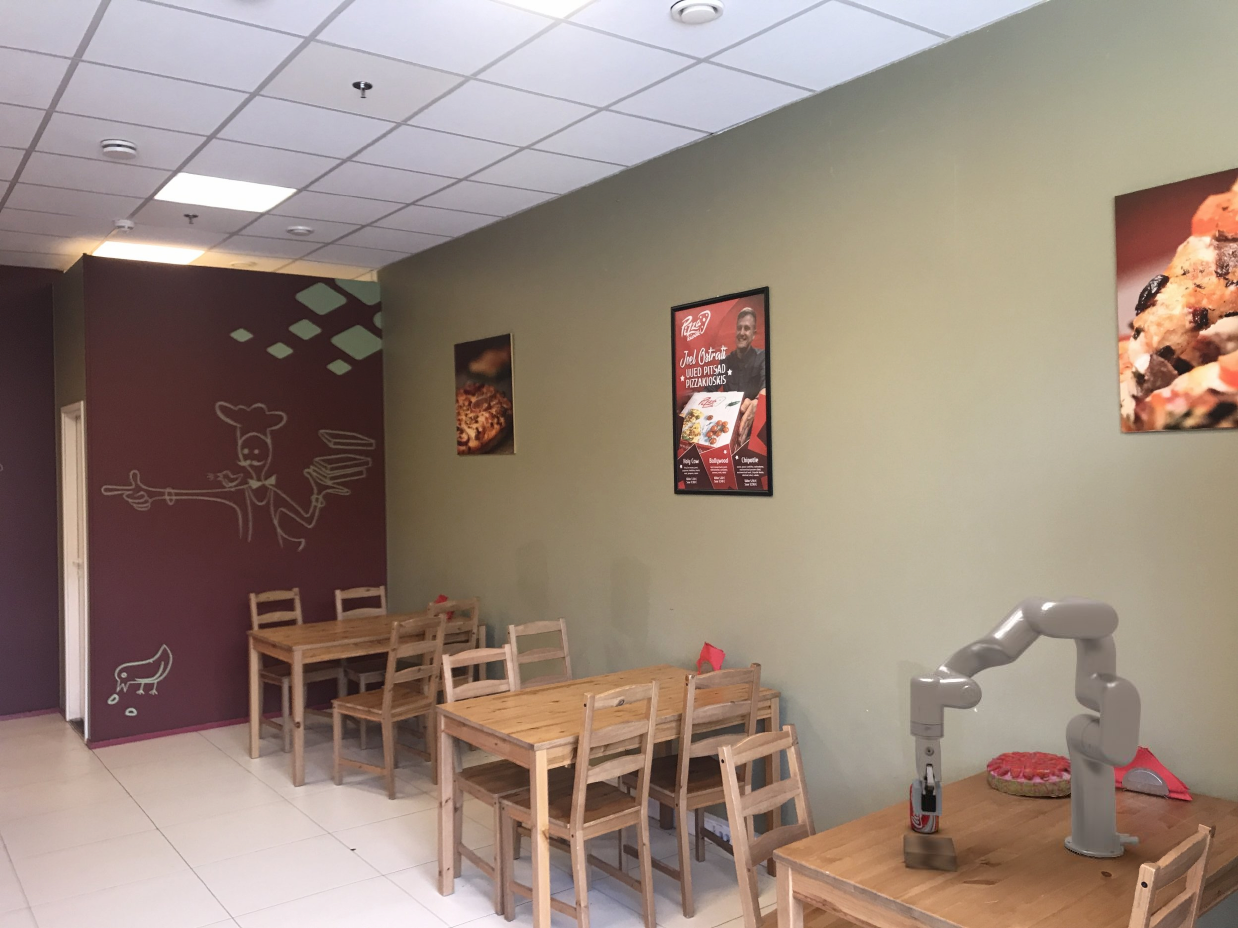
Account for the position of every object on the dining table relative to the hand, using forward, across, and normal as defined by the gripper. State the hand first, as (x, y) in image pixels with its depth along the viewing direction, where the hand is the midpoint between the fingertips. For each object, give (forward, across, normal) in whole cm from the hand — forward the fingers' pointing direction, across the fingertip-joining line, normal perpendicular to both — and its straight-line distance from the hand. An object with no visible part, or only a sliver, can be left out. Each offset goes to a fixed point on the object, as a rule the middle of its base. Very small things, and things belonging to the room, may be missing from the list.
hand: (927, 805), depth 223 cm
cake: (+12, +62, -36) cm, 72 cm away
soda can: (+13, +20, -2) cm, 24 cm away
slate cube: (+1, 0, 0) cm, 1 cm away
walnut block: (+13, 0, 0) cm, 13 cm away
